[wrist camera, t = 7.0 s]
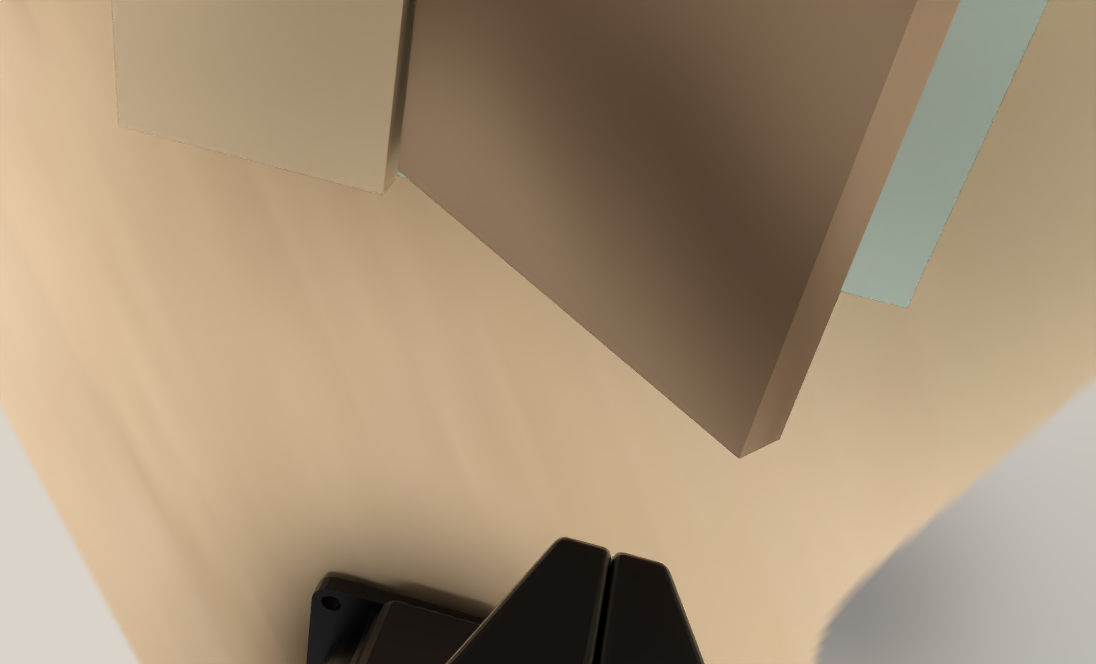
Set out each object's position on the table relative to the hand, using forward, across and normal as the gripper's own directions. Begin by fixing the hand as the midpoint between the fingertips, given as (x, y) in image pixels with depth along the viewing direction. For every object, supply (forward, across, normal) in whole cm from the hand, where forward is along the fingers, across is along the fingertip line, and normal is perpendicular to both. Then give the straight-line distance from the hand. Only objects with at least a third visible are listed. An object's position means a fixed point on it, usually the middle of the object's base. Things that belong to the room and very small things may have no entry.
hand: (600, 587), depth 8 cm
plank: (+8, +1, -1) cm, 8 cm away
